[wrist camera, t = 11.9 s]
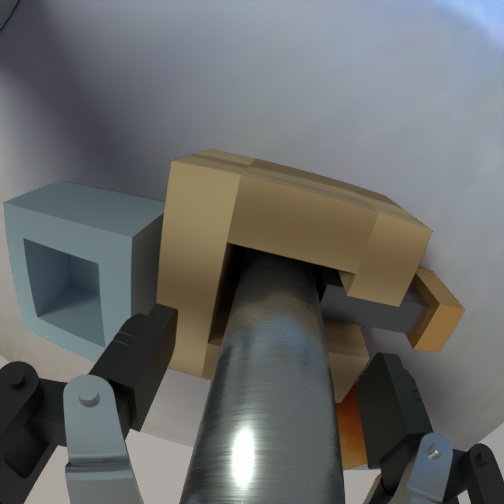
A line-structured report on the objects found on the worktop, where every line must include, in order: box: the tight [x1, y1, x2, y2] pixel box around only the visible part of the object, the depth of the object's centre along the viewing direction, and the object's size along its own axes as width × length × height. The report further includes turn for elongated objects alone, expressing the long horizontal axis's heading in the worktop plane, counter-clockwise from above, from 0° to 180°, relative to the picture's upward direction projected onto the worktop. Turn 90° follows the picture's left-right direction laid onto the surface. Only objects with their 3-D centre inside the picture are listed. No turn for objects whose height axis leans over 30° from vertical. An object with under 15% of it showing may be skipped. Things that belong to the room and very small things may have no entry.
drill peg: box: [179, 247, 345, 504], centre depth 10 cm, size 4×4×15 cm
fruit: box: [336, 378, 368, 471], centre depth 19 cm, size 8×8×8 cm
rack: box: [4, 181, 165, 362], centre depth 16 cm, size 9×9×6 cm
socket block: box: [156, 149, 433, 403], centre depth 14 cm, size 10×10×6 cm
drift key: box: [313, 264, 465, 352], centre depth 15 cm, size 3×8×5 cm, turn 77°
